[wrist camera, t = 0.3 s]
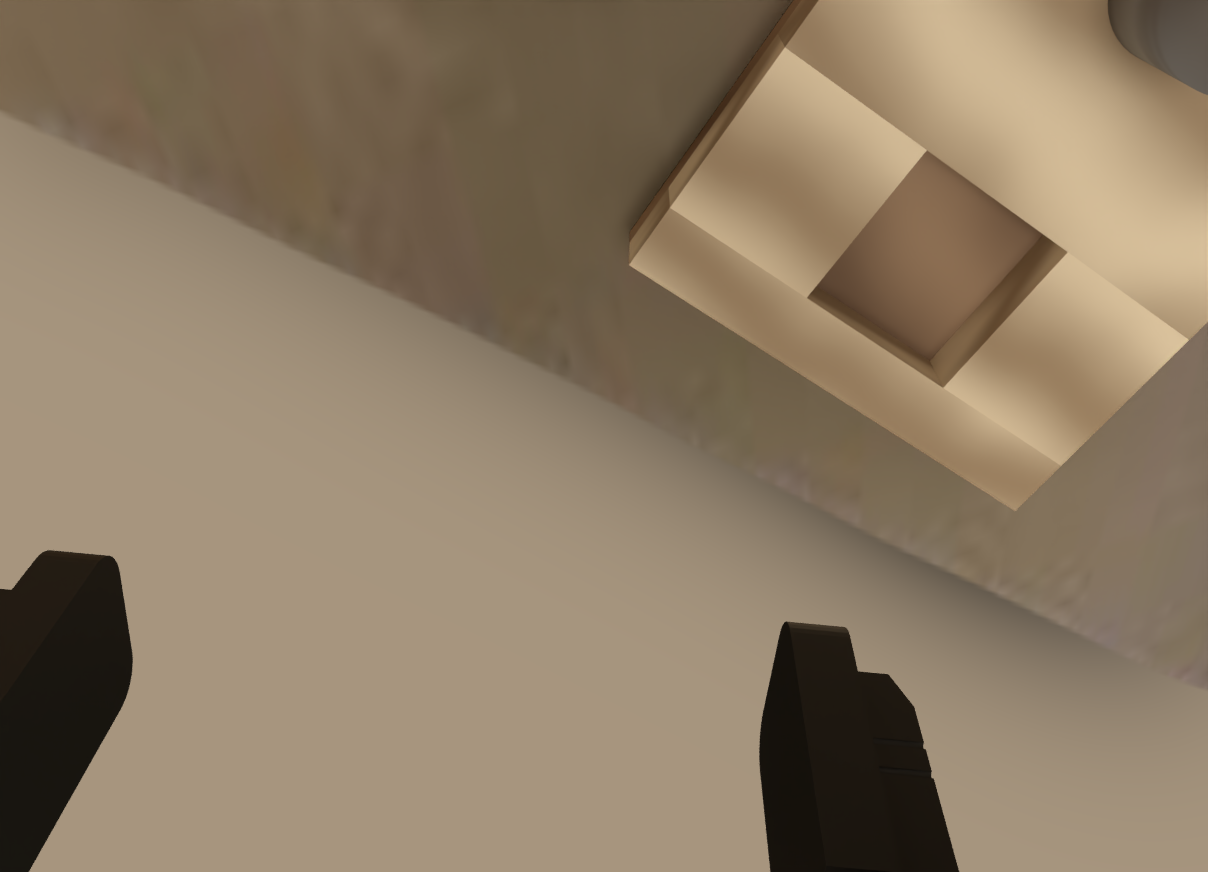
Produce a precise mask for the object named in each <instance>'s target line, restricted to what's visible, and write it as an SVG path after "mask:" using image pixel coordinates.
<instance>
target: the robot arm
mask: <svg viewBox="0 0 1208 872" xmlns="http://www.w3.org/2000/svg"><path fill="white" fill-rule="evenodd" d="M132 663H133V657H132V649H131V642H130V635H129V629H128V622H127V616H126V610H125V603H124V597H123V591H122V585H121V578H120V572H119V567H118V564H117V562H116V561H115V559H114V558H113V557H111V556H105V555H94V554H83V553H73V552H61V551H51V550H49V551H45V552H43V553H41V554H40V555H39V556H38V557H37V558H36V560H35V561H34V562H33V563H32V565H31V566H30V567H29V568H28V570H27V571H26V572H25V574H24V575H23V576H22V577H21V579H20V580H19V581H18V583H17V584H16V585H15V587H14V588H13V589H12V590H5V589H0V872H29V870H30V869H31V867H32V865H33V863H34V861H35V860H36V858H37V856H38V854H39V853H40V851H41V849H42V847H43V846H44V844H45V842H46V840H47V839H48V837H49V835H50V833H51V831H52V830H53V828H54V826H55V824H56V822H57V821H58V819H59V817H60V815H61V813H62V812H63V810H64V808H65V807H66V805H67V803H68V801H69V800H70V798H71V796H72V794H73V793H74V791H75V789H76V787H77V786H78V784H79V782H80V780H81V778H82V776H83V775H84V773H85V771H86V770H87V768H88V766H89V764H90V763H91V761H92V759H93V757H94V755H95V754H96V752H97V750H98V748H99V747H100V745H101V743H102V741H103V739H104V738H105V736H106V734H107V732H108V731H109V729H110V727H111V725H112V724H113V722H114V720H115V718H116V717H117V715H118V713H119V711H120V710H121V707H122V706H123V703H124V701H125V699H126V696H127V693H128V689H129V685H130V680H131V675H132ZM923 743H924V741H923V738H922V734H921V730H920V727H919V723H918V719H917V716H916V712H915V708H914V706H913V705H912V704H911V703H910V701H909V700H908V699H907V697H906V696H905V695H904V694H903V692H902V691H901V690H900V689H899V687H898V686H897V685H896V684H895V683H894V681H893V680H892V679H891V677H890V676H889V675H888V674H879V673H868V672H858V671H857V666H856V661H855V657H854V652H853V648H852V643H851V639H850V635H849V632H848V630H847V629H846V628H845V627H837V626H826V625H816V624H804V623H794V622H785V623H784V624H783V626H782V628H781V631H780V635H779V640H778V645H777V649H776V654H775V659H774V663H773V669H772V673H771V678H770V682H769V687H768V692H767V696H766V701H765V706H764V710H763V716H762V722H761V732H760V748H759V750H760V751H759V753H760V755H759V760H760V775H761V784H762V794H763V804H764V814H765V823H766V833H767V843H768V853H769V861H770V872H959V870H958V866H957V863H956V859H955V855H954V852H953V848H952V844H951V841H950V837H949V834H948V830H947V826H946V822H945V819H944V815H943V812H942V807H941V804H940V800H939V796H938V793H937V789H936V785H935V782H934V779H933V778H931V772H932V771H931V767H930V764H929V760H928V756H927V752H926V750H925V749H923Z"/></svg>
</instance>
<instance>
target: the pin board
mask: <svg viewBox="0 0 1208 872" xmlns="http://www.w3.org/2000/svg"><path fill="white" fill-rule="evenodd" d="M629 265H630V266H631V267H633V268H634V269H636V270H638V271H639V272H641V273H642V274H644V275H645V276H647V277H649V278H650V279H652V280H653V281H655V282H656V283H658V284H660V285H661V286H663V287H664V288H666V289H667V290H669V291H671V292H672V293H674V294H675V295H677V296H678V297H680V298H682V299H683V300H685V301H686V302H688V303H689V304H691V305H692V306H694V307H696V308H697V309H699V310H700V311H702V312H703V313H705V314H707V315H708V316H710V317H711V318H713V319H714V320H716V321H718V322H719V323H721V324H722V325H724V326H725V327H727V328H729V329H730V330H732V331H733V332H735V333H736V334H738V335H740V336H741V337H743V338H744V339H746V340H747V341H749V342H751V343H752V344H754V345H755V346H757V347H758V348H760V349H762V350H763V351H765V352H766V353H768V354H769V355H771V356H773V357H774V358H776V359H777V360H779V361H780V362H782V363H783V364H785V365H787V366H788V367H790V368H791V369H793V370H794V371H796V372H798V373H799V374H801V375H802V376H804V377H805V378H807V379H809V380H810V381H812V382H813V383H815V384H816V385H818V386H820V387H821V388H823V389H824V390H826V391H827V392H829V393H831V394H832V395H834V396H835V397H837V398H838V399H840V400H842V401H843V402H845V403H846V404H848V405H849V406H851V407H853V408H854V409H856V410H857V411H859V412H860V413H862V414H864V415H865V416H867V417H868V418H870V419H871V420H873V421H874V422H876V423H878V424H879V425H881V426H882V427H884V428H885V429H887V430H889V431H890V432H892V433H893V434H895V435H896V436H898V437H900V438H901V439H903V440H904V441H906V442H907V443H909V444H911V445H912V446H914V447H915V448H917V449H918V450H920V451H922V452H923V453H925V454H926V455H928V456H929V457H931V458H933V459H934V460H936V461H937V462H939V463H940V464H942V465H944V466H945V467H947V468H948V469H950V470H951V471H953V472H955V473H956V474H958V475H959V476H961V477H962V478H964V479H966V480H967V481H969V482H970V483H972V484H973V485H975V486H976V487H978V488H980V489H981V490H983V491H984V492H986V493H987V494H989V495H991V496H992V497H994V498H995V499H997V500H998V501H1000V502H1002V503H1003V504H1005V505H1006V506H1008V507H1009V508H1011V509H1013V510H1014V511H1016V510H1017V509H1018V508H1019V507H1020V506H1021V505H1022V504H1023V503H1024V502H1025V501H1026V500H1027V499H1028V498H1029V497H1030V496H1031V495H1032V494H1033V493H1034V492H1035V491H1036V490H1037V489H1038V488H1039V487H1040V486H1041V485H1042V484H1043V483H1044V482H1045V481H1046V480H1047V479H1048V478H1049V477H1050V476H1051V475H1052V474H1053V473H1054V472H1055V471H1056V470H1057V469H1058V468H1059V467H1060V466H1061V465H1062V464H1063V463H1064V462H1065V461H1066V460H1067V459H1068V458H1069V457H1070V456H1072V455H1073V454H1074V453H1075V452H1076V451H1077V450H1078V449H1079V448H1080V447H1081V446H1082V445H1083V444H1084V443H1085V442H1086V441H1087V440H1088V439H1089V438H1090V437H1091V436H1092V435H1093V434H1094V433H1095V432H1096V431H1097V430H1098V429H1099V428H1100V427H1101V426H1102V425H1103V424H1104V423H1105V422H1106V421H1107V420H1108V419H1109V418H1110V417H1111V416H1112V415H1113V414H1114V413H1115V412H1116V411H1117V410H1118V409H1119V408H1120V407H1121V406H1122V405H1123V404H1124V403H1125V402H1126V401H1127V400H1128V399H1129V398H1131V397H1132V396H1133V395H1134V394H1135V393H1136V392H1137V391H1138V390H1139V389H1140V388H1141V387H1142V386H1143V385H1144V384H1145V383H1146V382H1147V381H1148V380H1149V379H1150V378H1151V377H1152V376H1153V375H1154V374H1155V373H1156V372H1157V371H1158V370H1159V369H1160V368H1161V367H1162V366H1163V365H1164V364H1165V363H1166V362H1167V361H1168V360H1169V359H1170V358H1171V357H1172V356H1173V355H1174V354H1175V353H1176V352H1177V351H1178V350H1179V349H1180V348H1181V347H1182V346H1183V345H1184V344H1185V343H1186V342H1187V341H1188V340H1190V339H1191V338H1192V337H1193V336H1194V335H1195V334H1196V333H1197V332H1198V331H1199V330H1200V329H1201V328H1202V327H1203V326H1204V325H1205V324H1206V323H1207V322H1208V0H793V2H792V3H791V4H790V6H789V7H788V9H787V10H786V12H785V13H784V14H783V16H782V17H781V19H780V20H779V21H778V23H777V24H776V26H775V27H774V29H773V30H772V31H771V33H770V34H769V36H768V37H767V38H766V40H765V41H764V43H763V44H762V46H761V47H760V48H759V50H758V51H757V53H756V54H755V55H754V57H753V58H752V60H751V61H750V63H749V64H748V65H747V67H746V68H745V70H744V71H743V72H742V74H741V75H740V77H739V78H738V80H737V81H736V82H735V84H734V85H733V87H732V88H731V89H730V91H729V92H728V94H727V95H726V97H725V98H724V99H723V101H722V102H721V104H720V105H719V106H718V108H717V109H716V111H715V112H714V113H713V115H712V116H711V118H710V119H709V121H708V122H707V123H706V125H705V126H704V128H703V129H702V130H701V132H700V133H699V135H698V136H697V138H696V139H695V140H694V142H693V143H692V145H691V146H690V147H689V149H688V150H687V152H686V153H685V155H684V156H683V157H682V159H681V160H680V162H679V163H678V164H677V166H676V167H675V169H674V170H673V172H672V173H671V174H670V176H669V177H668V179H667V180H666V181H665V183H664V184H663V186H662V187H661V189H660V190H659V191H658V193H657V194H656V196H655V197H654V198H653V200H652V201H651V203H650V204H649V206H648V207H647V208H646V210H645V211H644V213H643V214H642V215H641V217H640V218H639V220H638V221H637V222H636V224H635V225H634V227H633V228H632V230H631V231H630V244H629Z"/></svg>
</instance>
